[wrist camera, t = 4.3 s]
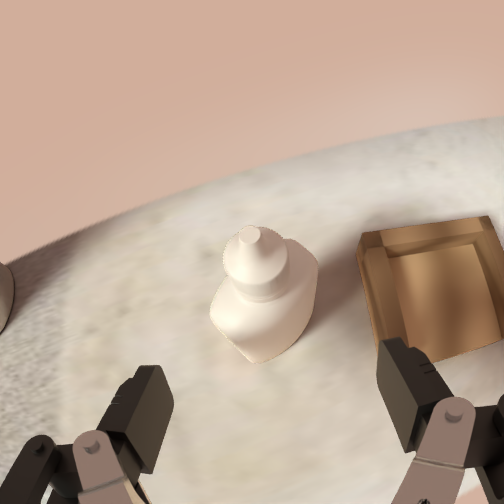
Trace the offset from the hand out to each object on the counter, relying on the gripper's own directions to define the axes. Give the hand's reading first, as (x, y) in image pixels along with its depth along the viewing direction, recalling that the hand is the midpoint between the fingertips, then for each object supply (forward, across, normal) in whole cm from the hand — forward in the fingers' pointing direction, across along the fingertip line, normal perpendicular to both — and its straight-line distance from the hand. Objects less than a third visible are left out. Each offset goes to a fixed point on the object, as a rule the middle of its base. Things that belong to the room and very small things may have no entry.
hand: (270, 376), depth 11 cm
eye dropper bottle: (+10, 0, +4) cm, 10 cm away
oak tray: (+10, -12, +4) cm, 16 cm away
